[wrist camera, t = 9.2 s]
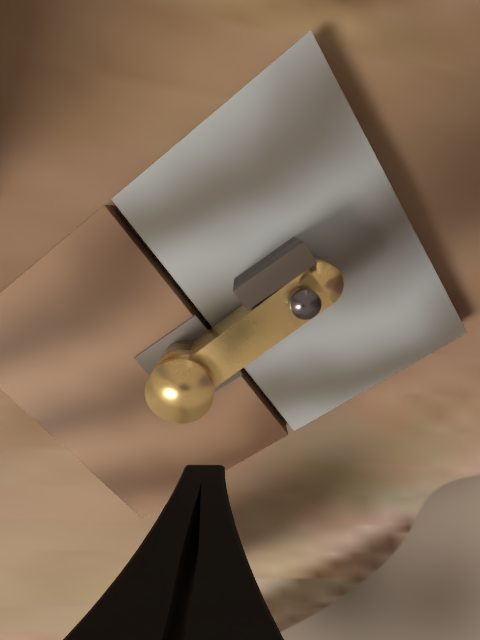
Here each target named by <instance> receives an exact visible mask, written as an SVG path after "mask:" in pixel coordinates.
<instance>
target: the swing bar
mask: <svg viewBox="0 0 480 640" xmlns="http://www.w3.org/2000/svg"><path fill="white" fill-rule="evenodd" d="M314 258H315V260H316V262H317V264H315V265H314V266H312V267H311V268H309V269H308V270H306V271H305V272H303V273H302V274H301V275H299V276H298V277H296V278H295V279H293V280H292V281H290V282H289V283H287V284H286V285H284V286H283V287H281V288H280V289H278V290H277V291H275V292H274V293H273V294H271V295H270V296H268V297H267V298H265V299H264V300H262V301H261V302H259V303H258V304H256V305H255V306H253V307H252V308H250V309H249V310H246V308H245V307H244V306H243V304H242V305H241V306H240V307H239V308H237V309H236V310H235V311H233V312H232V313H231V314H229V315H228V316H227V317H226V318H224V319H223V320H222V321H220V322H219V323H218V324H216V325H215V326H214V327H212V328H211V329H210V330H209V331H207V332H206V333H205V334H203V335H202V336H201V337H199V338H198V339H197V340H196V341H194V342H192V341H181V342H177V343H174V344H172V345H171V346H169V347H168V348H167V349H166V350H165V351H164V352H163V354H162V355H161V357H160V359H159V361H158V362H157V364H156V366H155V368H154V370H153V371H152V373H151V375H150V377H149V378H148V380H147V383H146V386H145V398H146V401H147V404H148V406H149V407H150V409H151V410H152V411H153V412H154V413H155V414H156V415H157V416H159V417H160V418H162V419H164V420H166V421H168V422H172V423H177V424H185V423H191V422H194V421H196V420H198V419H200V418H202V417H203V416H204V415H205V414H206V413H207V412H208V411H209V409H210V408H211V406H212V403H213V397H214V391H215V388H216V387H217V386H218V385H220V384H221V383H223V382H224V381H225V380H227V379H228V378H230V377H231V376H232V375H234V374H235V373H237V372H238V371H239V370H241V369H242V368H244V367H245V366H246V365H248V364H249V363H251V362H252V361H253V360H255V359H256V358H258V357H259V356H260V355H262V354H263V353H265V352H266V351H267V350H269V349H270V348H272V347H273V346H274V345H276V344H277V343H279V342H280V341H281V340H283V339H284V338H286V337H287V336H288V335H290V334H291V333H293V332H294V331H295V330H297V329H298V328H300V327H301V326H302V325H304V324H305V323H307V322H308V321H309V320H311V319H312V318H314V317H315V316H316V315H318V314H319V313H321V312H322V311H323V310H325V309H326V308H328V307H329V306H330V305H332V304H333V303H334V302H336V301H337V300H338V298H339V297H340V296H341V294H342V292H343V288H344V280H343V276H342V274H341V272H340V271H339V270H338V269H337V268H336V267H334V266H333V265H331V264H329V263H328V262H326V261H324V260H322V259H321V258H318V257H314Z"/></svg>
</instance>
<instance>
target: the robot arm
mask: <svg viewBox="0 0 480 640" xmlns="http://www.w3.org/2000/svg"><path fill="white" fill-rule="evenodd" d="M63 640H284V639H283V637H282V635H281V633H280V631H279V629H278V627H277V625H276V623H275V621H274V619H273V617H272V615H271V613H270V611H269V609H268V607H267V605H266V603H265V601H264V598H263V596H262V594H261V592H260V589H259V587H258V585H257V583H256V580H255V578H254V575H253V573H252V570H251V568H250V566H249V563H248V560H247V558H246V555H245V552H244V550H243V547H242V544H241V541H240V538H239V535H238V532H237V529H236V525H235V522H234V518H233V515H232V511H231V507H230V503H229V499H228V494H227V489H226V482H225V467H224V466H222V465H187V466H186V467H185V468H184V470H183V473H182V475H181V477H180V479H179V481H178V483H177V485H176V487H175V489H174V491H173V493H172V495H171V497H170V499H169V500H168V502H167V504H166V505H165V507H164V509H163V511H162V512H161V514H160V516H159V517H158V519H157V521H156V522H155V524H154V525H153V527H152V528H151V530H150V532H149V533H148V535H147V536H146V538H145V539H144V541H143V542H142V544H141V545H140V547H139V548H138V550H137V551H136V552H135V554H134V555H133V557H132V558H131V559H130V561H129V562H128V563H127V565H126V566H125V567H124V569H123V570H122V571H121V573H120V574H119V575H118V577H117V578H116V579H115V580H114V582H113V583H112V584H111V585H110V587H109V588H108V589H107V590H106V592H105V593H104V594H103V595H102V597H101V598H100V599H99V600H98V601H97V603H96V604H95V605H94V606H93V607H92V608H91V610H90V611H89V612H88V613H87V614H86V615H85V616H84V618H83V619H82V620H81V621H80V622H79V623H78V624H77V625H76V626H75V627H74V629H73V630H72V631H71V632H70V633H69V634H68V635H67V636H66V637H65V638H64V639H63Z"/></svg>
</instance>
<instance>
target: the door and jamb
mask: <svg viewBox="0 0 480 640" xmlns="http://www.w3.org/2000/svg"><path fill="white" fill-rule="evenodd" d="M111 200H112V201H113V202H114V204H115V205H116V206H117V207H118V209H119V210H120V211H121V213H122V214H123V215H124V216H125V218H126V219H127V220H128V221H129V223H130V224H131V225H132V226H133V228H134V229H135V230H136V232H137V233H138V234H139V235H140V237H141V238H142V239H143V240H144V242H145V243H146V244H147V245H148V247H149V248H150V249H151V250H152V252H153V253H154V254H155V256H156V257H157V258H158V259H159V261H160V262H161V263H162V264H163V266H164V267H165V268H166V269H167V271H168V272H169V273H170V275H171V276H172V277H173V278H174V280H175V281H176V282H177V283H178V285H179V286H180V287H181V288H182V290H183V291H184V292H185V293H186V295H187V296H188V297H189V299H190V300H191V301H192V302H193V304H194V305H195V306H196V307H197V309H198V310H199V311H200V312H201V314H202V315H203V316H204V318H205V319H206V320H207V321H208V323H209V324H210V325H211V326H212V327H214V326H215V325H216V324H218V323H219V322H220V321H222V320H223V319H224V318H226V317H227V316H228V315H229V314H231V313H232V312H233V311H235V310H236V309H237V308H239V307H240V306H241V305H242V304H243V306H244V307H245V308H246V310H249V309H250V308H252V307H253V306H255V305H256V304H258V303H259V302H261V301H262V300H264V299H265V298H267V297H268V296H270V295H271V294H273V293H274V292H275V291H277V290H278V289H280V288H281V287H283V286H284V285H286V284H287V283H289V282H290V281H292V280H293V279H295V278H296V277H298V276H299V275H301V274H302V273H303V272H305V271H306V270H308V269H309V268H311V267H312V266H314V265H315V264H317V262H316V260H315V258H314V257H318V258H321V259H322V260H324V261H326V262H328V263H329V264H331V265H333V266H334V267H336V268H337V269H338V270H339V271H340V272H341V274H342V276H343V280H344V288H343V292H342V294H341V296H340V297H339V298H338V300H337V301H336V302H334V303H333V304H332V305H330V306H329V307H328V308H326V309H325V310H323V311H322V312H321V313H319V314H318V315H316V316H315V317H314V318H312V319H311V320H309V321H308V322H307V323H305V324H304V325H302V326H301V327H300V328H298V329H297V330H295V331H294V332H293V333H291V334H290V335H288V336H287V337H286V338H284V339H283V340H281V341H280V342H279V343H277V344H276V345H274V346H273V347H272V348H270V349H269V350H267V351H266V352H265V353H263V354H262V355H260V356H259V357H258V358H256V359H255V360H253V361H252V362H251V363H249V364H248V365H246V366H245V367H244V368H245V369H246V371H247V372H248V373H249V374H250V376H251V377H252V378H253V379H254V381H255V382H256V383H257V385H258V386H259V387H260V388H261V390H262V391H263V392H264V393H265V395H266V396H267V397H268V398H269V400H270V401H271V402H272V403H273V405H274V406H275V407H276V409H277V410H278V411H279V412H280V414H281V415H282V416H283V417H284V419H285V420H286V421H287V422H288V424H289V425H290V426H291V428H292V429H293V430H294V431H295V430H297V429H299V428H300V427H302V426H304V425H306V424H307V423H309V422H311V421H313V420H314V419H316V418H318V417H320V416H322V415H323V414H325V413H327V412H329V411H330V410H332V409H334V408H336V407H337V406H339V405H341V404H343V403H344V402H346V401H348V400H350V399H351V398H353V397H355V396H357V395H358V394H360V393H362V392H364V391H365V390H367V389H369V388H371V387H372V386H374V385H376V384H378V383H379V382H381V381H383V380H385V379H386V378H388V377H390V376H392V375H393V374H395V373H397V372H399V371H401V370H402V369H404V368H406V367H408V366H409V365H411V364H413V363H415V362H416V361H418V360H420V359H422V358H423V357H425V356H427V355H429V354H430V353H432V352H434V351H436V350H437V349H439V348H441V347H443V346H444V345H446V344H448V343H450V342H451V341H453V340H455V339H457V338H458V337H460V336H462V335H464V334H465V333H467V331H466V329H465V327H464V325H463V323H462V321H461V319H460V318H459V316H458V314H457V312H456V310H455V308H454V306H453V304H452V302H451V300H450V298H449V296H448V294H447V292H446V291H445V289H444V287H443V285H442V283H441V281H440V279H439V277H438V275H437V273H436V271H435V269H434V267H433V265H432V263H431V262H430V260H429V258H428V256H427V254H426V252H425V250H424V248H423V246H422V244H421V242H420V240H419V238H418V236H417V234H416V233H415V231H414V229H413V227H412V225H411V223H410V221H409V219H408V217H407V215H406V213H405V211H404V209H403V207H402V206H401V204H400V202H399V200H398V198H397V196H396V194H395V192H394V190H393V188H392V186H391V184H390V182H389V180H388V178H387V177H386V175H385V173H384V171H383V169H382V167H381V165H380V163H379V161H378V159H377V157H376V155H375V153H374V151H373V150H372V148H371V146H370V144H369V142H368V140H367V138H366V136H365V134H364V132H363V130H362V128H361V126H360V124H359V122H358V121H357V119H356V117H355V115H354V113H353V111H352V109H351V107H350V105H349V103H348V101H347V99H346V97H345V95H344V94H343V92H342V90H341V88H340V86H339V84H338V82H337V80H336V78H335V76H334V74H333V72H332V70H331V68H330V66H329V65H328V63H327V61H326V59H325V57H324V55H323V53H322V51H321V49H320V47H319V45H318V43H317V41H316V39H315V38H314V36H313V34H312V32H311V31H309V32H308V33H307V34H306V35H305V36H304V37H302V38H301V39H300V40H299V41H298V42H296V43H295V44H294V45H293V46H292V47H291V48H289V49H288V50H287V51H286V52H285V53H283V54H282V55H281V56H280V57H279V58H278V59H276V60H275V61H274V62H273V63H272V64H270V65H269V66H268V67H267V68H266V69H265V70H263V71H262V72H261V73H260V74H259V75H257V76H256V77H255V78H254V79H253V80H252V81H250V82H249V83H248V84H247V85H246V86H244V87H243V88H242V89H241V90H240V91H239V92H237V93H236V94H235V95H234V96H233V97H232V98H230V99H229V100H228V101H227V102H226V103H224V104H223V105H222V106H221V107H220V108H219V109H217V110H216V111H215V112H214V113H213V114H211V115H210V116H209V117H208V118H207V119H206V120H204V121H203V122H202V123H201V124H200V125H198V126H197V127H196V128H195V129H194V130H193V131H191V132H190V133H189V134H188V135H187V136H185V137H184V138H183V139H182V140H181V141H180V142H178V143H177V144H176V145H175V146H174V147H172V148H171V149H170V150H169V151H168V152H167V153H165V154H164V155H163V156H162V157H161V158H159V159H158V160H157V161H156V162H155V163H154V164H152V165H151V166H150V167H149V168H148V169H146V170H145V171H144V172H143V173H142V174H141V175H139V176H138V177H137V178H136V179H135V180H133V181H132V182H131V183H130V184H129V185H128V186H126V187H125V188H124V189H123V190H122V191H120V192H119V193H118V194H117V195H116V196H115V197H113V198H112V199H111ZM209 330H210V327H209V326H208V325H207V324H206V322H205V321H204V320H203V319H202V317H201V316H200V315H199V314H198V312H197V311H196V310H195V309H194V307H193V306H192V305H191V303H190V302H189V301H188V300H187V298H186V297H185V296H184V295H183V293H182V292H181V291H180V290H179V288H178V287H177V286H176V285H175V283H174V282H173V281H172V280H171V278H170V277H169V276H168V275H167V273H166V272H165V271H164V269H163V268H162V267H161V266H160V264H159V263H158V262H157V261H156V259H155V258H154V257H153V256H152V254H151V253H150V252H149V251H148V249H147V248H146V247H145V246H144V244H143V243H142V242H141V240H140V239H139V238H138V237H137V235H136V234H135V233H134V232H133V230H132V229H131V228H130V227H129V225H128V224H127V223H126V222H125V220H124V219H123V218H122V217H121V215H120V214H119V213H118V212H117V210H116V209H115V208H114V206H108V205H104V206H103V207H102V208H100V209H99V210H98V211H97V212H96V213H94V214H93V215H92V216H91V217H90V218H89V219H87V220H86V221H85V222H84V223H83V224H81V225H80V226H79V227H78V228H77V229H76V230H74V231H73V232H72V233H71V234H70V235H68V236H67V237H66V238H65V239H64V240H63V241H61V242H60V243H59V244H58V245H57V246H55V247H54V248H53V249H52V250H51V251H50V252H48V253H47V254H46V255H45V256H44V257H42V258H41V259H40V260H39V261H38V262H37V263H35V264H34V265H33V266H32V267H31V268H29V269H28V270H27V271H26V272H25V273H24V274H22V275H21V276H20V277H19V278H18V279H17V280H15V281H14V282H13V283H12V284H11V285H9V286H8V287H7V288H6V289H5V290H4V291H2V292H1V293H0V389H1V390H2V391H3V392H4V393H6V394H7V395H8V396H9V397H10V398H11V399H12V400H13V401H14V402H15V403H16V404H18V405H19V406H20V407H21V408H22V409H23V410H24V411H25V412H26V413H27V414H28V415H30V416H31V417H32V418H33V419H34V420H35V421H36V422H37V423H38V424H39V425H41V426H42V427H43V428H44V429H45V430H46V431H47V432H48V433H49V434H50V435H51V436H53V437H54V438H55V439H56V440H57V441H58V442H59V443H60V444H61V445H62V446H63V447H65V448H66V449H67V450H68V451H69V452H70V453H71V454H72V455H73V456H74V457H75V458H77V459H78V460H79V461H80V462H81V463H82V464H83V465H84V466H85V467H86V468H88V469H89V470H90V471H91V472H92V473H93V474H94V475H95V476H96V477H97V478H98V479H100V480H101V481H102V482H103V483H104V484H105V485H106V486H107V487H108V488H109V489H110V490H112V491H113V492H114V493H115V494H116V495H117V496H118V497H119V498H120V499H121V500H122V501H124V502H125V503H126V504H127V505H128V506H129V507H130V508H131V509H132V510H133V511H134V512H136V513H137V514H138V515H139V516H140V517H141V518H142V517H144V516H146V515H148V514H149V513H151V512H153V511H155V510H156V509H158V508H160V507H162V506H164V505H165V504H167V502H168V500H169V499H170V497H171V495H172V493H173V491H174V489H175V487H176V485H177V483H178V481H179V479H180V477H181V475H182V473H183V470H184V468H185V467H186V466H187V465H222V466H224V467H225V470H227V469H228V468H230V467H232V466H234V465H235V464H237V463H239V462H241V461H243V460H244V459H246V458H248V457H250V456H251V455H253V454H255V453H257V452H258V451H260V450H262V449H264V448H265V447H267V446H269V445H271V444H272V443H274V442H276V441H278V440H279V439H281V438H283V437H285V436H286V435H288V432H287V427H286V423H285V422H284V421H283V419H282V418H281V417H280V416H279V414H278V413H277V412H276V411H275V409H274V408H273V407H272V406H271V404H270V403H269V402H268V400H267V399H266V398H265V397H264V395H263V394H262V393H261V392H260V390H259V389H258V388H257V387H256V385H255V384H254V383H253V382H252V380H251V379H250V378H249V377H248V375H247V374H246V373H245V371H244V370H243V369H241V370H239V371H238V372H237V373H235V374H234V375H232V376H231V377H230V378H228V379H227V380H225V381H224V382H223V383H221V384H220V385H218V386H217V387H216V388H215V391H214V397H213V403H212V406H211V408H210V409H209V411H208V412H207V413H206V414H205V415H204V416H203V417H202V418H200V419H198V420H196V421H194V422H191V423H185V424H177V423H172V422H168V421H166V420H164V419H162V418H160V417H159V416H157V415H156V414H155V413H154V412H153V411H152V410H151V409H150V407H149V406H148V404H147V401H146V398H145V386H146V383H147V380H148V378H149V377H150V375H151V373H152V371H153V370H154V368H155V366H156V364H157V362H158V361H159V359H160V357H161V355H162V354H163V352H164V351H165V350H166V349H167V348H168V347H169V346H171V345H172V344H174V343H177V342H181V341H192V342H194V341H196V340H197V339H198V338H199V337H201V336H202V335H203V334H205V333H206V332H207V331H209Z"/></svg>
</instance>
